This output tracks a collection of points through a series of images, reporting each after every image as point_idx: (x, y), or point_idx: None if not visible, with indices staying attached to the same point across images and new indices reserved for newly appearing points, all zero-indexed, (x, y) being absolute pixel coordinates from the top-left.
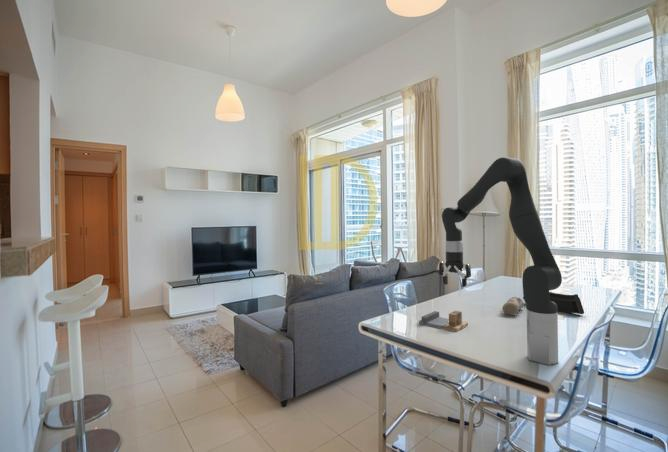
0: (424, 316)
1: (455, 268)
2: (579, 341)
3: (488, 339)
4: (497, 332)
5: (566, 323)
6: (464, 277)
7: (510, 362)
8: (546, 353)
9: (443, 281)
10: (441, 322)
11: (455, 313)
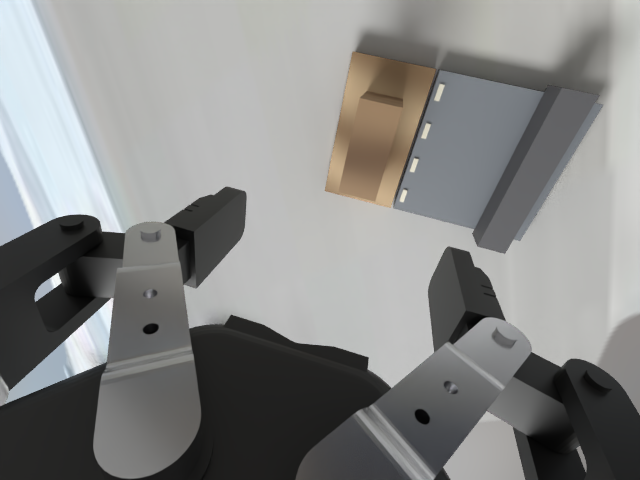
0: (574, 115)
1: (177, 373)
2: (11, 172)
3: (203, 19)
4: (206, 146)
5: (100, 316)
6: (137, 229)
7: None
8: None
9: (485, 281)
10: (450, 138)
11: (363, 136)
